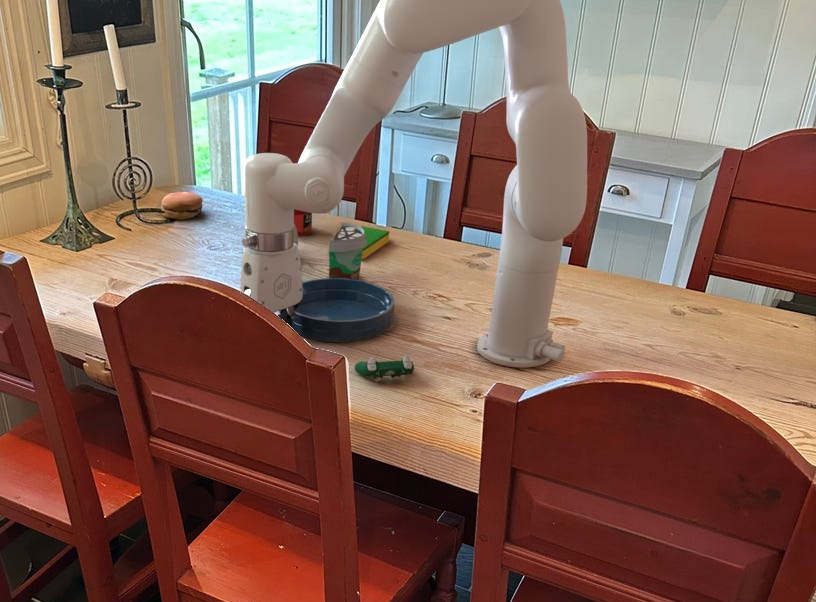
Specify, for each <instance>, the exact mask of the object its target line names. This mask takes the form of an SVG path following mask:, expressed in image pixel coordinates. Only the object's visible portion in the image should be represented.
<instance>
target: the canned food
mask: <svg viewBox="0 0 816 602" xmlns="http://www.w3.org/2000/svg"><path fill="white" fill-rule="evenodd" d="M294 224H295V226H296V229H297V234H298V237H301V236H302V237H303V236H307V235H309V234H310V233H311V232H312V230H313V229H312V228H313V213H309V212H304V211H300V210H295V209H294Z"/></svg>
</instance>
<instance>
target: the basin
mask: <svg viewBox="0 0 816 602" xmlns="http://www.w3.org/2000/svg"><path fill="white" fill-rule="evenodd" d="M302 287H303V288H304V290H305V291H306V293H305V295H304V297H303V298H302V300H301V301H300V304H299V306H298V308H297V309H296V311H295V314H296V315H295V317H294V318H293V319H292V328H293V329H294V330H295V331H296V332H297V333H299V334H300V335H299V334H298V335H299V336H301V337H304V338H309V339H310V340H311V339H312V340H317V341H323V342H334V343H344V342H345V343H346V342H357V341H358V342H359V341H364V340H368V339H372V338H375V337H379V336H380V335H383V334H384V333H386V332H387V331H389V330H390V329H391V327H392V326H393V324H394V319H395V318H394V316H395V302H396V301H395V300H396V299H395V297H394V295H393V294H392V293H391V292H390V291H389V290H388V289H386V288H384V287H383V286H380V285H378V284H376V283H373V282H370V281H366V280H361V279H359V280H356V279H348V278H329V277H322V278H321V277H320V278H315V279H308V280H304V281H302ZM297 333H296V334H297Z"/></svg>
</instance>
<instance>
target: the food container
mask: <svg viewBox="0 0 816 602" xmlns="http://www.w3.org/2000/svg"><path fill="white" fill-rule="evenodd" d="M366 243H367V241H366V235H365V233H364V230H363V229H362V228H361V226H359V225H357V224H353V223H350V222H346V221H345V222H344V221H340V228H339V230H338V231H337V232H336V233H335V235H334V237H333V239H329V240H328V278H348V279H356V280H360V274H361V267H362V260H363V259H362V250H363V247H364V246H365V245H366Z"/></svg>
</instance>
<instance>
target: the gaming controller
mask: <svg viewBox="0 0 816 602" xmlns="http://www.w3.org/2000/svg"><path fill="white" fill-rule="evenodd" d="M354 370H355V372H356V373H357V374H358V375H359V376H361V377H364V378H369V379H372V378H373V380H374V381H375V382H381V381H382V380H383V378H384V377H391V379H392V380H393V381H399V380H400V379H401V377H402V376H408V375H412V374H413V373H414V372H415V364H414V362H413V361H412V359H411V357H410V356H409V355H403V357H402V358H401V360H386V361H377V360H376V358H375V357H373V356H371V357H369V359H368V360H367V361H365V360H364V361H363V360H362V361H357V362H356V364H355V365H354Z"/></svg>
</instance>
